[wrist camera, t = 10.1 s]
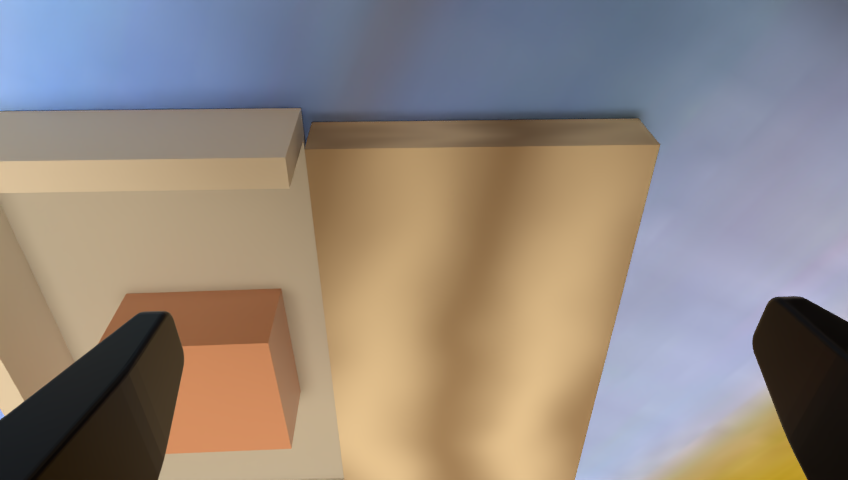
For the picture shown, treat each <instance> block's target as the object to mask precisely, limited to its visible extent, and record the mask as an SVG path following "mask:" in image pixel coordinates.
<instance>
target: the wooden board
mask: <svg viewBox="0 0 848 480" xmlns="http://www.w3.org/2000/svg"><path fill="white" fill-rule="evenodd" d="M659 147H660V144H659V143H658V141H657V140H656V139H655V138H654V137H653V135H652V134H651V133H650V132H649V130H648V129H647V128H646V127H645V126H644V124H643V123H642V122H641V121H640V120H639V118H635V119H549V120H462V121H376V122H312V123H311V127H310V131H309V134H308V138H307V142H306V146H305V149H304V150H305V158H306V166H307V175H308V183H309V191H310V200H311V208H312V216H313V225H314V233H315V241H316V250H317V258H318V266H319V275H320V283H321V291H322V300H323V308H324V316H325V325H326V333H327V341H328V350H329V358H330V366H331V375H332V383H333V391H334V400H335V408H336V416H337V425H338V433H339V441H340V450H341V458H342V467H343V475H344V480H575V476H576V472H577V468H578V465H579V461H580V457H581V453H582V449H583V445H584V441H585V437H586V433H587V429H588V425H589V421H590V418H591V414H592V410H593V406H594V402H595V398H596V394H597V390H598V386H599V382H600V378H601V374H602V370H603V367H604V363H605V359H606V355H607V351H608V347H609V343H610V339H611V335H612V331H613V327H614V323H615V320H616V316H617V312H618V308H619V304H620V300H621V296H622V292H623V288H624V284H625V280H626V276H627V273H628V269H629V265H630V261H631V257H632V253H633V249H634V245H635V241H636V237H637V233H638V229H639V225H640V222H641V218H642V214H643V210H644V206H645V202H646V198H647V194H648V190H649V186H650V182H651V178H652V175H653V171H654V167H655V163H656V159H657V155H658V151H659Z"/></svg>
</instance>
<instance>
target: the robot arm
mask: <svg viewBox="0 0 848 480" xmlns="http://www.w3.org/2000/svg"><path fill="white" fill-rule="evenodd" d="M753 350H754V354H755V356H756V359H757V362H758V364H759V367H760V369H761V372H762V375H763V377H764V380H765V382H766V385H767V388H768V390H769V393H770V396H771V398H772V401H773V403H774V406H775V409H776V411H777V414H778V417H779V419H780V422H781V424H782V427H783V429H784V432H785V434H786V436H787V439H788V441H789V443H790V445H791V447H792V450H793V452H794V454H795V456H796V458H797V460H798V462H799V464H800V466H801V468H802V470H803V472H804V474H805V476H806V478H807V479H808V480H848V322H847V321H845V320H843V319H842V318H840V317H838V316H836V315H834V314H833V313H831V312H829V311H827V310H825V309H823V308H822V307H820V306H818V305H816V304H814V303H812V302H811V301H809V300H807V299H805V298H803V297H797V296H791V297H775V298H772V299H771V300H770V301H769V302H768V304H767V306H766V308H765V310H764V312H763V315H762V317H761V319H760V321H759V324H758V326H757V328H756V330H755V333H754V335H753ZM183 367H184V351H183V347H182V344H181V341H180V338H179V335H178V332H177V328H176V325H175V322H174V319H173V317H172V315H171V314H170V313H169V312H167V311H144V312H140V313H138V314H136V315H135V316H134V317H132V318H131V319H130V320H128V321H127V322H126V323H124V324H123V325H122V326H121V327H119V328H118V329H117V330H115V331H114V332H113V333H112V334H110V335H109V336H108V337H106V338H105V339H104V340H103V341H101V342H100V343H99V344H97V345H96V346H95V347H94V348H92V349H91V350H90V351H88V352H87V353H86V354H84V355H83V356H82V357H81V358H79V359H78V360H77V361H75V362H74V363H73V364H72V365H70V366H69V367H68V368H66V369H65V370H64V371H63V372H61V373H60V374H59V375H57V376H56V377H55V378H53V379H52V380H51V381H50V382H48V383H47V384H46V385H44V386H43V387H42V388H41V389H39V390H38V391H37V392H35V393H34V394H33V395H32V396H30V397H29V398H28V399H26V400H25V401H24V402H23V403H21V404H20V405H19V406H17V407H16V408H15V409H13V410H12V411H11V412H10V413H8V414H7V415H6V416H4V417H3V418H2V419H1V420H0V480H158V478H159V475H160V472H161V469H162V465H163V462H164V458H165V454H166V449H167V445H168V440H169V435H170V430H171V426H172V421H173V416H174V411H175V406H176V401H177V396H178V392H179V387H180V382H181V377H182V372H183Z"/></svg>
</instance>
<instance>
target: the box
mask: <svg viewBox="0 0 848 480" xmlns="http://www.w3.org/2000/svg"><path fill="white" fill-rule="evenodd" d="M304 149H305V138H304V129H303V121H302V112H301V108H263V109H169V110H76V111H0V409H1V411H2V412H3V414H4V415H5V416H6V415H7V414H8V413H10V412H11V411H12V410H13V409H15V408H16V407H17V406H19V405H20V404H21V403H23V402H24V401H25V400H26V399H28V398H29V397H30V396H32V395H33V394H34V393H35V392H37V391H38V390H39V389H41V388H42V387H43V386H44V385H46V384H47V383H48V382H50V381H51V380H52V379H53V378H55V377H56V376H57V375H59V374H60V373H61V372H63V371H64V370H65V369H66V368H68V367H69V366H70V365H72V364H73V363H74V362H75V361H77V360H78V359H79V358H81V357H82V356H83V355H84V354H86V353H87V352H88V351H90V350H91V349H92V348H94V347H95V346H96V345H97V344H98V343H99V341H100V339H101V337H102V336H103V334H104V332H105V330H106V329H107V327H108V325H109V323H110V322H111V320H112V318H113V316H114V314H115V313H116V311H117V309H118V307H119V306H120V304H121V302H122V300H123V298H124V297H125V295H126V294H131V293H161V292H190V291H220V290H250V289H280V288H281V289H282V295H283V300H284V305H285V311H286V316H287V321H288V326H289V332H290V337H291V342H292V348H293V353H294V358H295V363H296V369H297V374H298V379H299V385H300V390H301V393H300V399H299V406H298V412H297V418H296V424H295V430H294V436H293V443H292V449H274V450H250V451H225V452H201V453H177V454H165V458H164V462H163V465H162V469H161V472H160V475H159V478H158V480H344V475H343V467H342V458H341V450H340V441H339V433H338V425H337V416H336V408H335V400H334V391H333V383H332V375H331V366H330V358H329V350H328V341H327V333H326V325H325V316H324V308H323V300H322V291H321V283H320V275H319V266H318V258H317V250H316V241H315V233H314V225H313V216H312V208H311V200H310V191H309V183H308V175H307V166H306V158H305V150H304Z"/></svg>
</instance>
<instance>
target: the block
mask: <svg viewBox="0 0 848 480" xmlns="http://www.w3.org/2000/svg"><path fill="white" fill-rule="evenodd" d="M144 311H167V312H169V313H170V314H171V315H172V317H173V319H174V322H175V325H176V328H177V332H178V335H179V338H180V341H181V344H182V347H183V351H184V367H183V372H182V377H181V382H180V387H179V392H178V396H177V401H176V406H175V411H174V416H173V421H172V426H171V430H170V435H169V440H168V445H167V449H166V454H177V453H201V452H225V451H250V450H274V449H292V443H293V436H294V430H295V424H296V418H297V412H298V406H299V399H300V393H301V390H300V385H299V379H298V374H297V369H296V363H295V358H294V353H293V348H292V342H291V337H290V332H289V326H288V321H287V316H286V311H285V305H284V300H283V295H282V289H281V288H280V289H250V290H220V291H190V292H161V293H131V294H126V295H125V297H124V298H123V300H122V302H121V304H120V306H119V307H118V309H117V311H116V313H115V314H114V316H113V318H112V320H111V322H110V323H109V325H108V327H107V329H106V330H105V332H104V334H103V336H102V337H101V339H100V341H99V343H100V342H101V341H103V340H104V339H105V338H106V337H108V336H109V335H110V334H112V333H113V332H114V331H115V330H117V329H118V328H119V327H121V326H122V325H123V324H124V323H126V322H127V321H128V320H130V319H131V318H132V317H134V316H135V315H136V314H138V313H140V312H144ZM99 343H98V344H99Z"/></svg>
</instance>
